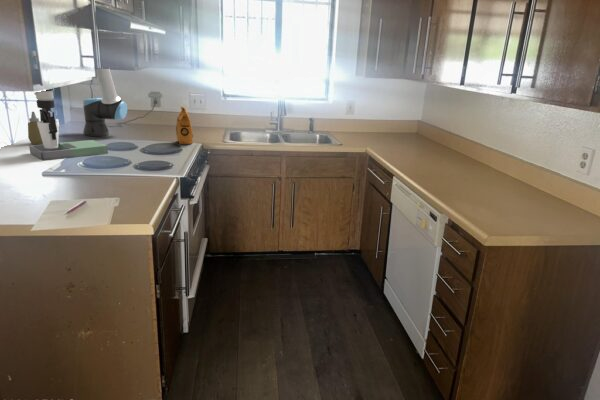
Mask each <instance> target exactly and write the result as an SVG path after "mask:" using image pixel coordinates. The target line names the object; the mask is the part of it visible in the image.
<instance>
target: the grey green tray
mask: <svg viewBox="0 0 600 400" xmlns="http://www.w3.org/2000/svg"><path fill="white" fill-rule="evenodd" d="M28 147H29V152H30V155H33V156H34V157H36V158H37V159H39V160H41V161H48V160H49V161H51V160H57V159H58V160H59V159H67V158H68V159H69V158H76V157H85V156H92V155H95V156H96V155H103V154H108V153H109V150H108V145H106V144H104V143H101V142H99V141H97V140H95V139H90V140H89V139H88V140H79V141H78V140H77V141H66V142H58V148H52V149H48V148H44V145H43V144H38V145H35V144H31V145H29V146H28Z"/></svg>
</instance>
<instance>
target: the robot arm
mask: <svg viewBox="0 0 600 400" xmlns="http://www.w3.org/2000/svg"><path fill="white" fill-rule="evenodd" d="M110 69H111V68H109V69H103V68H102V69H97V77H96V76H95V77H96V80H97V84H98V87H99V90H100V94H101V97H93V98H85V99H84V100H83V106H82V107H83V115H84V127H83V130H82V133H83V136H87V137H104V136H109V135H110V131H109V128H108V126H107V123H106V120H111V121H112V120H113V121H123V120H124V119H126V117H127V114H128V105H127V103H126V102H125V101H122V98H121V96H119V95H118V94H117V91H116V90H117V89H116V87H115V83H114V80H113V79H114V78H113V76H112V73H111V70H110ZM33 94H34V96H35V98H36V106H37V108H38V109H39V115H40V117H39V118H40V119H39V120H40V121H43V123H50V124H49V130H50V132H49V134H50V141H51V146H57V138H56V132H57V127H56V122H55V121H56V118H55V111H52V109H53V108H55V107H56V106H55V100H54V99H55V98H54V97H55V96H54V89H53V88H52V89H50V90H46V91H41V92H34V93H33Z"/></svg>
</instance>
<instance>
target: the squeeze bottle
mask: <svg viewBox="0 0 600 400" xmlns="http://www.w3.org/2000/svg"><path fill="white" fill-rule="evenodd" d="M30 116H31V117H30V118H28V121H29V122H28V123H27V133H28V134H27V135H28V136H27V137H28V140H29V142H30V144H31V145H43V142H42V138H41V135H40V131H39V128H38V125H37V122H38V121H40V119H39V118H40V117H39V118H38V117H37V116H36V113H35V111H31V115H30Z"/></svg>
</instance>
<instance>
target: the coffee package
mask: <svg viewBox="0 0 600 400" xmlns="http://www.w3.org/2000/svg"><path fill="white" fill-rule="evenodd" d="M180 109H181V111H180V112H179V114H178V115H177V118H176V127H175V133H176V139H177V142H178V143H179V144H180V145H191V144H193V141H194V135H193V126H192V123H191V119H190V115H189V114H188V111H187V110H186V107H185V106H181V107H180Z"/></svg>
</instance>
